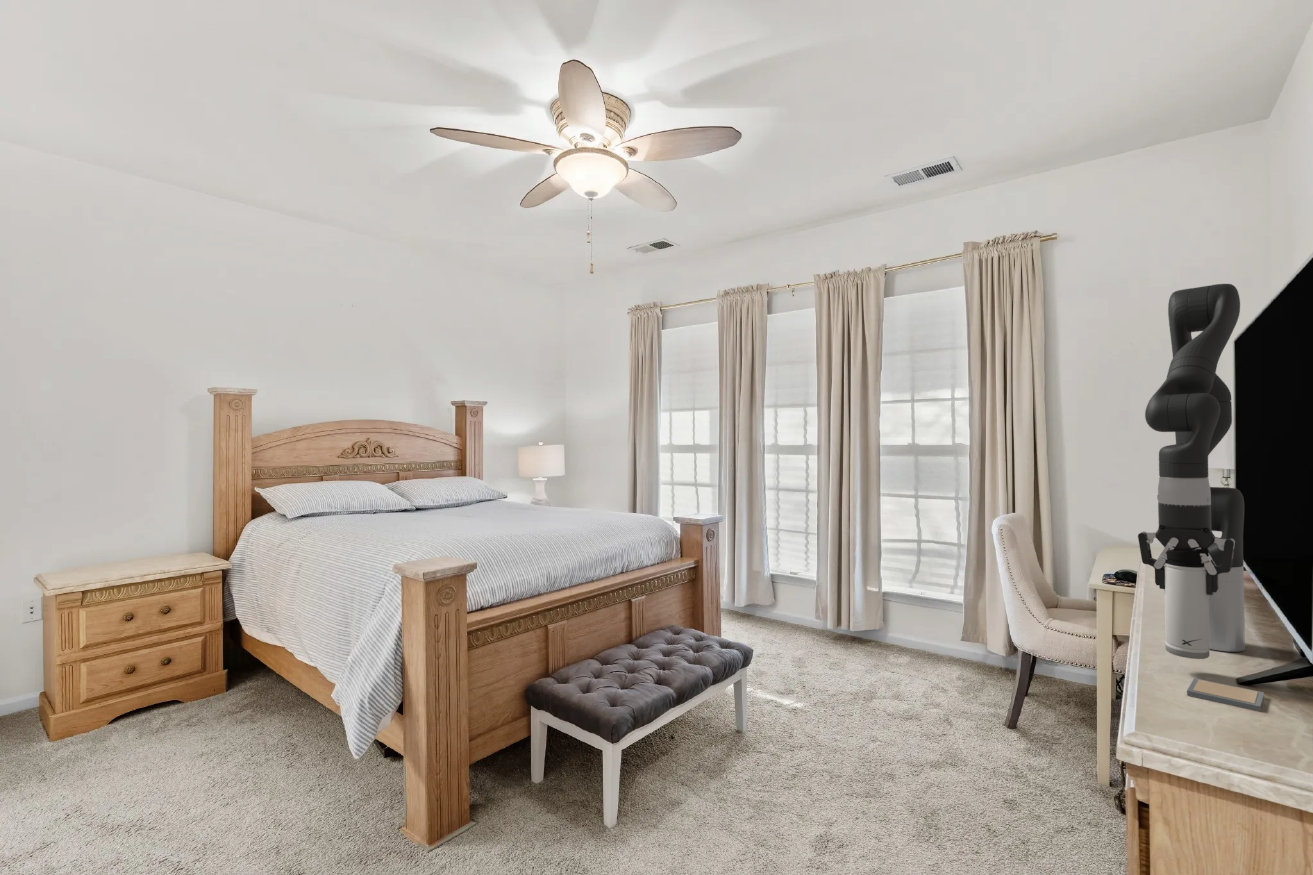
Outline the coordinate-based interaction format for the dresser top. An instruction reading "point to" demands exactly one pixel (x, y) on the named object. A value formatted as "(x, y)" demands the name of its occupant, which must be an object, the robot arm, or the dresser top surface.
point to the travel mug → (1186, 604)
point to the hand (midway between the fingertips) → (1185, 590)
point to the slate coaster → (1226, 694)
